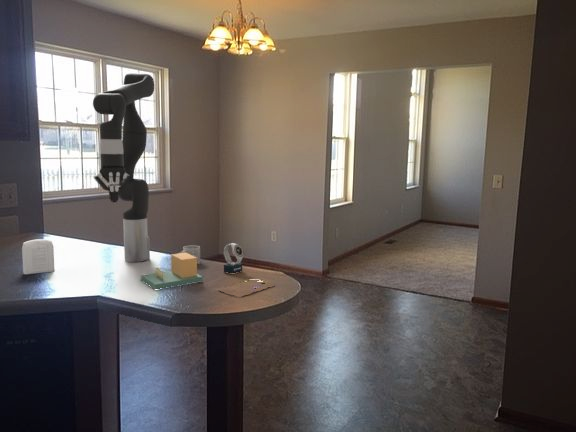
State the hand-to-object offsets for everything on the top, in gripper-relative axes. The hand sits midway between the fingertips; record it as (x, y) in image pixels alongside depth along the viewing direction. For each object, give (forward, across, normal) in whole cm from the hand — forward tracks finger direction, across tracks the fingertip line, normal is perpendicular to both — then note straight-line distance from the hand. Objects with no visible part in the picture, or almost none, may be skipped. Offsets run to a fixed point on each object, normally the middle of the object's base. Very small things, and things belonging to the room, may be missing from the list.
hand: (113, 202), depth 169 cm
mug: (+27, -29, -2) cm, 40 cm away
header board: (+27, -14, +17) cm, 35 cm away
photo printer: (+27, +22, -20) cm, 40 cm away
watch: (+27, -38, +18) cm, 50 cm away
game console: (+28, -32, +38) cm, 57 cm away
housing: (+25, -18, +17) cm, 35 cm away
